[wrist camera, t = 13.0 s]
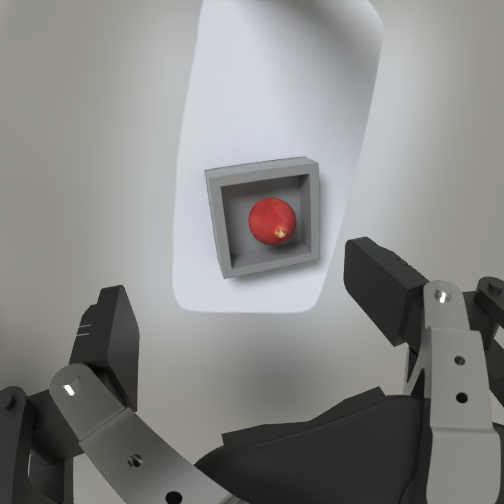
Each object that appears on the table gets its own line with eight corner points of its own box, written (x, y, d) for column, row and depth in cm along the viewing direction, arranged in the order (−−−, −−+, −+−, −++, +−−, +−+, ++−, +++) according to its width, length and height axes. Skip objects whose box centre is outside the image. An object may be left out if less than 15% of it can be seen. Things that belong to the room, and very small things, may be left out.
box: (204, 170, 38) (208, 178, 35) (303, 156, 41) (318, 162, 37) (218, 262, 45) (223, 279, 41) (307, 245, 47) (319, 258, 43)
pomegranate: (290, 195, 42) (314, 215, 35) (278, 234, 44) (299, 261, 37) (248, 186, 40) (266, 205, 33) (238, 228, 42) (252, 255, 35)
